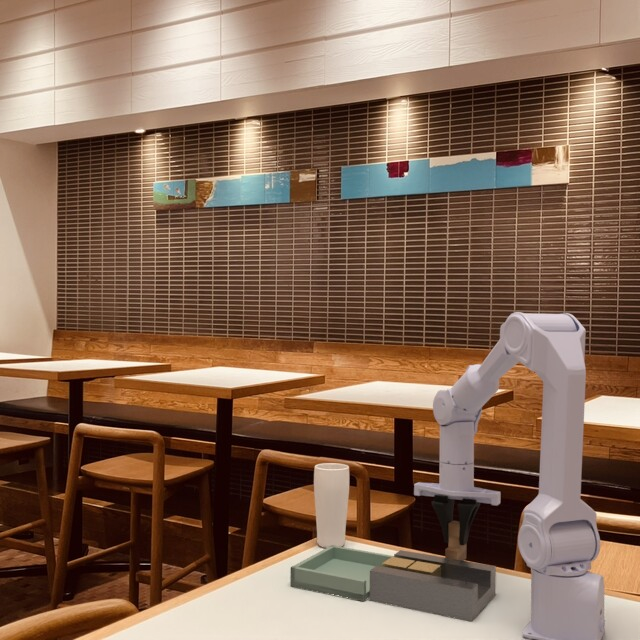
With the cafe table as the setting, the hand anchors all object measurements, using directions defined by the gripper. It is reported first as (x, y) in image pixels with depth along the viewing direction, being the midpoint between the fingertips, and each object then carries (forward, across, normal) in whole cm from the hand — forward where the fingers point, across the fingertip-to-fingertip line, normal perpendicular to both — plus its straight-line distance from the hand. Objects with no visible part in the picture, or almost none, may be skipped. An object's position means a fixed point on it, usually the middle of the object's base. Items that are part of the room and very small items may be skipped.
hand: (456, 542), depth 125 cm
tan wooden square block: (+3, +5, +12) cm, 14 cm away
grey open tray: (+5, 0, +12) cm, 13 cm away
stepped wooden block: (+3, 0, 0) cm, 3 cm away
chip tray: (+5, +15, +12) cm, 20 cm away
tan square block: (+3, +1, +12) cm, 13 cm away
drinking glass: (+6, +26, -4) cm, 27 cm away
